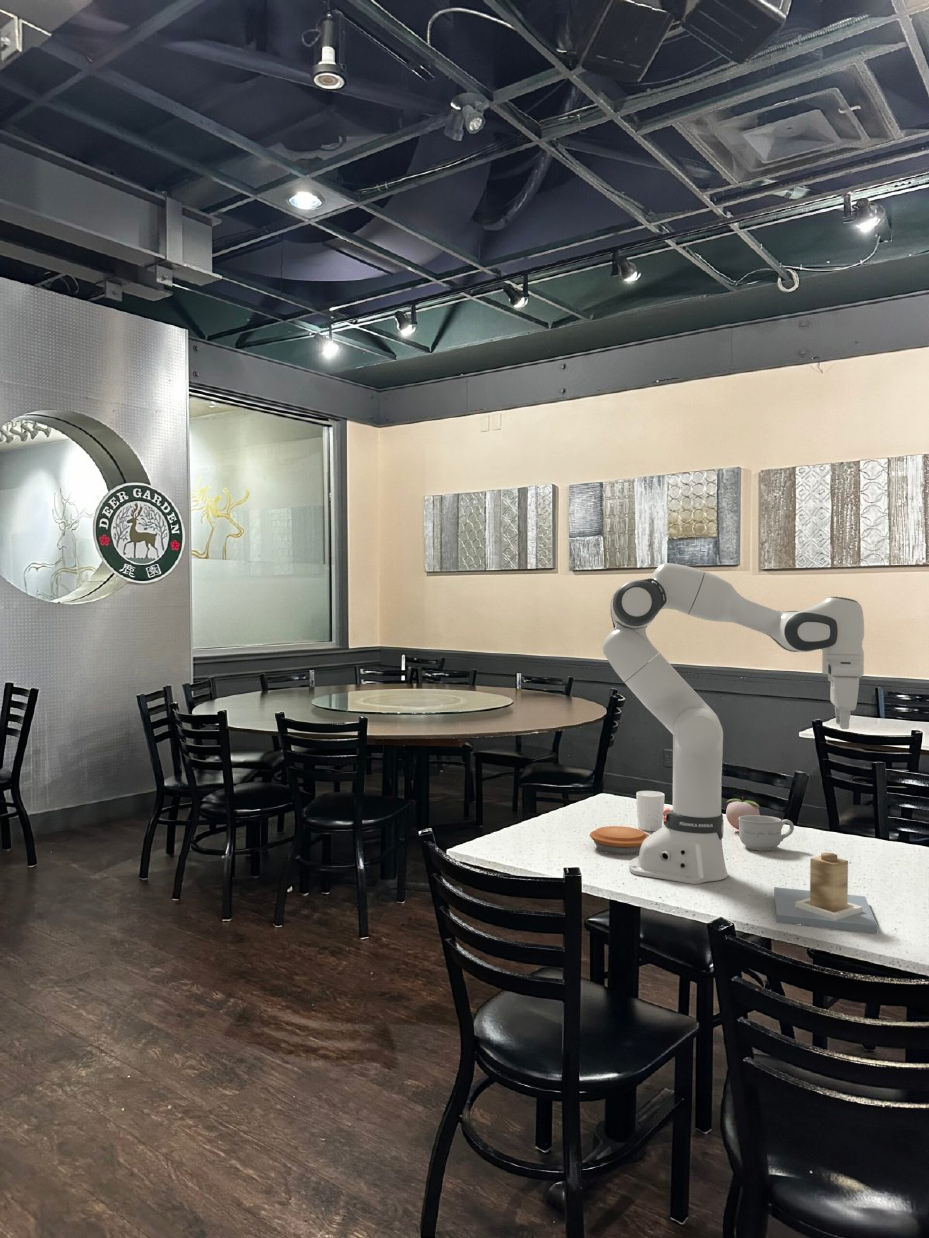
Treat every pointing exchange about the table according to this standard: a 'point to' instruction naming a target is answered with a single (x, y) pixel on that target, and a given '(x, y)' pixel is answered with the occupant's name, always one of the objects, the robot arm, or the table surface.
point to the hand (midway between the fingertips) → (842, 726)
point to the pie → (618, 839)
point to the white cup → (650, 810)
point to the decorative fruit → (740, 810)
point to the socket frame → (847, 912)
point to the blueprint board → (795, 915)
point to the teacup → (762, 831)
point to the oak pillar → (829, 882)
